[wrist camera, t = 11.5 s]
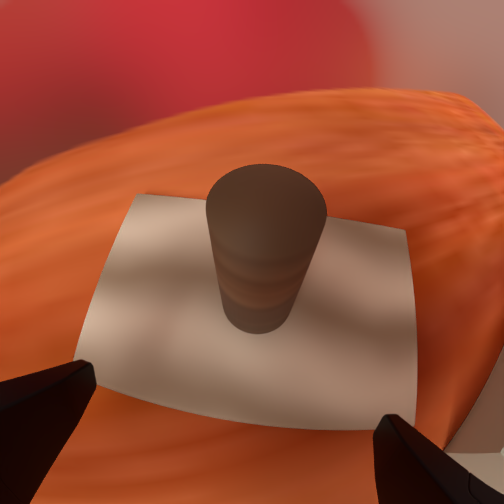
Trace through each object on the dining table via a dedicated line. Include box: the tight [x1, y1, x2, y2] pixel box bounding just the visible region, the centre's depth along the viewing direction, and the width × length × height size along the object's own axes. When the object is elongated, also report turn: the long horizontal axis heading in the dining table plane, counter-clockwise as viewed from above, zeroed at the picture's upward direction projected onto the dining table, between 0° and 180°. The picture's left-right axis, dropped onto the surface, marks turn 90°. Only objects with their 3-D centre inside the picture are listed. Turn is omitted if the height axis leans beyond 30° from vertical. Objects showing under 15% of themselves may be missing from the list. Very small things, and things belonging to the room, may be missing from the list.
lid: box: [73, 164, 417, 430], centre depth 12 cm, size 13×19×9 cm
